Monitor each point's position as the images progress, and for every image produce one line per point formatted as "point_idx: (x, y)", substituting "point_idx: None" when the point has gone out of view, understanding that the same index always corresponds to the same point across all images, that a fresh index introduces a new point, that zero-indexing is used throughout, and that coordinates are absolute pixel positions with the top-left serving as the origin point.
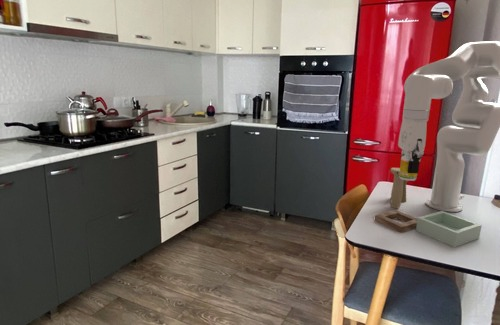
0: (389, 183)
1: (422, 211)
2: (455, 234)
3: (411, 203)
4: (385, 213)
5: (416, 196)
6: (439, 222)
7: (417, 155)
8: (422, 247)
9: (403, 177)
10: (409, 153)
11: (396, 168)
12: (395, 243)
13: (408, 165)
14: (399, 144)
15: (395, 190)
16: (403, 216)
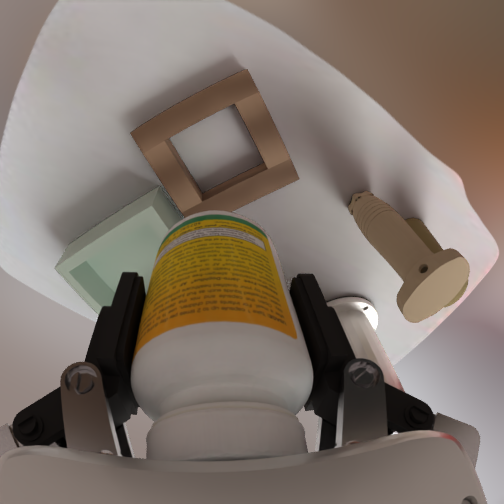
0: (490, 265)
1: (314, 268)
2: (58, 263)
3: (375, 263)
4: (264, 119)
5: None
6: None
7: (6, 434)
8: (48, 161)
9: (175, 227)
10: (152, 443)
11: (456, 283)
12: (60, 89)
13: (116, 317)
14: (414, 474)
15: (383, 224)
16: (241, 180)
